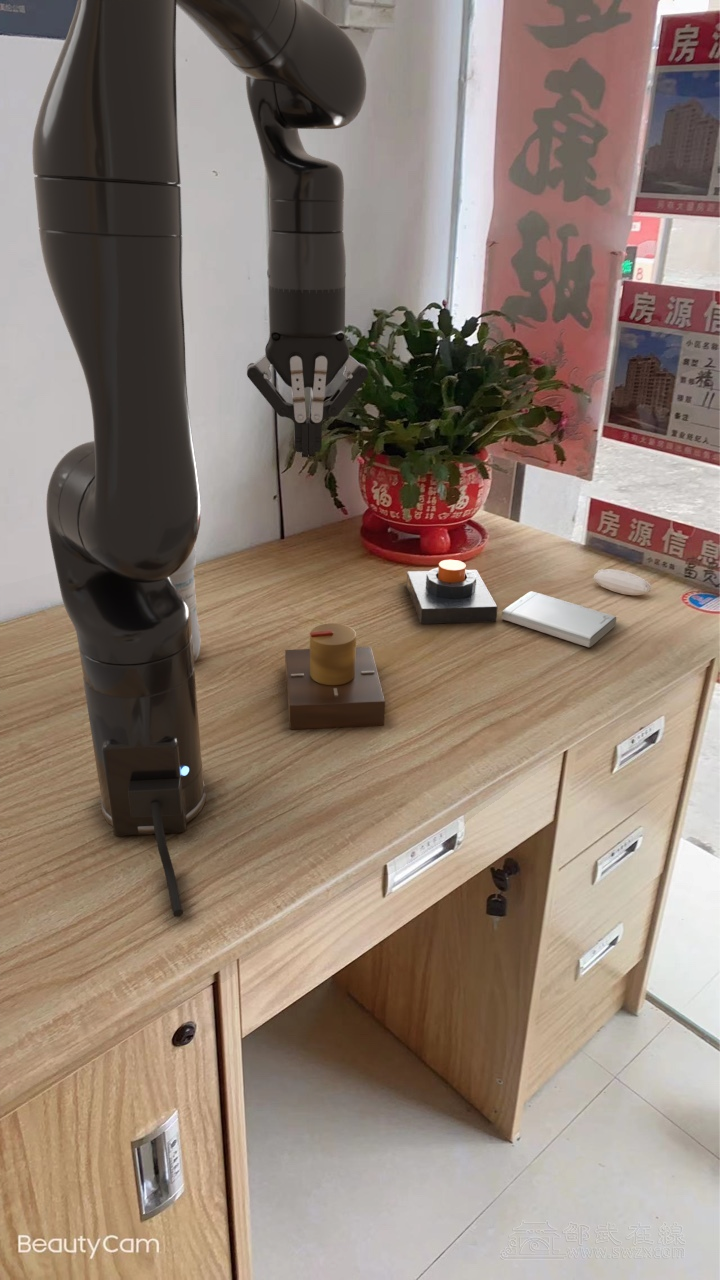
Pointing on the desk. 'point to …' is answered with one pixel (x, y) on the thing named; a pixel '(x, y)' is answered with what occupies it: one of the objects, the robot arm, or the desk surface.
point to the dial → (332, 654)
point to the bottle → (189, 596)
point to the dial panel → (333, 694)
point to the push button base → (450, 598)
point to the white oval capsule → (622, 582)
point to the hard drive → (559, 618)
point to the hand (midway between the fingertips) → (308, 455)
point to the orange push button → (451, 571)
